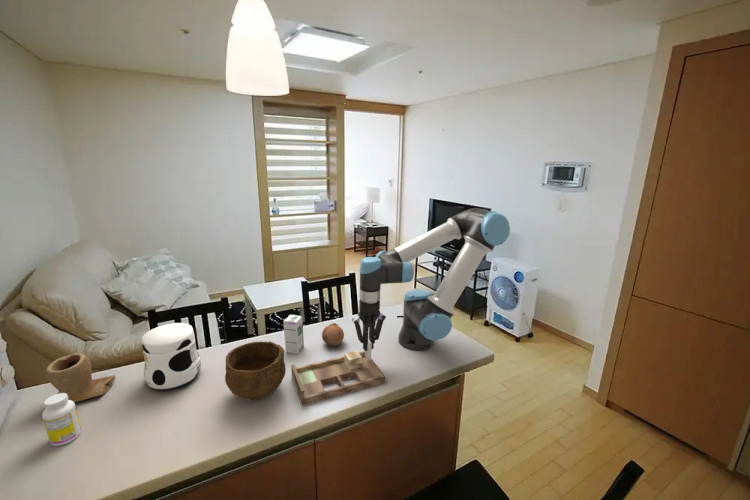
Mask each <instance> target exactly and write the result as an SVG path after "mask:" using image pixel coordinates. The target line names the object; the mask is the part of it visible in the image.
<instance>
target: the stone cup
mask: <svg viewBox="0 0 750 500" xmlns="http://www.w3.org/2000/svg"><path fill="white" fill-rule="evenodd" d="M92 370H93V369H92V363H91V360H90V358H89V357H88V356H87V355H86V354H85V353H82V352H74V353H73V352H72V353H71V354H68V355H66V356H62V357H58V358H57V359H55V360H54V361H52V362H50V363H49V365H48V366H46V369H45V373H44V374H45V377H46V379H47V380H48V382H49V383H50V384H51V386H53V387H54V388H55V389H56V390H58V392H57V393H56V394H59V393H66V394H67V395H68V400H71V401H73V402H74V403H76V402H81V401H85V400H88V399H91V398H96V397H100V396H102V395H104V394H106V393H107V392H108V391H109V390H110V388H112V386H113V383H114V382H115V380H116V375H115V374H114V375H109V376H104V377H99V378H95V379H93V377H92V374H93V373H92Z"/></svg>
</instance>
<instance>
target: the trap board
mask: <svg viewBox="0 0 750 500" xmlns="http://www.w3.org/2000/svg"><path fill="white" fill-rule="evenodd" d="M359 354H360V355H361V356H362V367H359V368H355V369H351V370H349V369H348V367H347V366H346V364H345V355H343V356H340V357H339V356H338V357H336V358H335V357H334V358H331V359H330V358H329V359H327V360H322V361H318V362H313V363H309V364H305V365H302V366H297V367H296V365H295V364H291V365H290V366H291V380H292V382H293V385H294V388H295V391H296V393H297V395H298V396H297V397H298V399H299V402H300V404H301V407H303V406H307V405H311V404H313V403H317V402H321V401H324V400H327V399H332V398H334V397H338V396H343V395H346V394H349V393H352V392H356V391H359V390H363V389H366V388H370V387H373V386H377V385H381V384H384V383H386V379H387V376H386V374H385V373H384V372H383V371H382V370H381V368H380V367H379V366H378V365H377V363H376V362H375V361H374V360H373V358H372V357H371V359H367V358H366V357H365V351H364V350H363V351H361V352H359ZM353 378H355V380H356V381H355V382H352V383H348V384H345V383H344V381H346V380H350V379H353ZM335 383H336V384H337V387H334V388H330V389H327V390H325V388H324V386H327V385H331V384H335Z"/></svg>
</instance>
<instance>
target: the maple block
mask: <svg viewBox="0 0 750 500" xmlns="http://www.w3.org/2000/svg"><path fill="white" fill-rule="evenodd" d="M359 353H360V352H359V351H358V350H352V351H349V352H345V353H344V356H345V364H346V366H347V367H348V369H349V370H351V369H355V368H359V367H362V356H361V355H360V354H359Z"/></svg>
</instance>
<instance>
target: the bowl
mask: <svg viewBox="0 0 750 500" xmlns="http://www.w3.org/2000/svg"><path fill="white" fill-rule="evenodd" d="M285 353H286V350H285V349H284V348H283V347H282V345H280V344H277V343H275V342H272V341H253V342H248V343H244V344H241V345H238V346H236V347H235V348H233V349H231V350H230V351H229V352H228V353H227V355H226V356H225V375H224V378H225V380H224V381H225V385H226V386H227V388H228V389H229V391H230V392H231V393H232V394H233V395H234V396H236V397H237V398H240V399H243V400H247V401H259V400H260V401H261V400H264V399H266V398H268V397H269V396H271V395H272V394H274V392H275V391H277V389H278V388H279V387H280V386H281V384H282V382H283V379H284V378H285V375H286V363H285Z"/></svg>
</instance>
